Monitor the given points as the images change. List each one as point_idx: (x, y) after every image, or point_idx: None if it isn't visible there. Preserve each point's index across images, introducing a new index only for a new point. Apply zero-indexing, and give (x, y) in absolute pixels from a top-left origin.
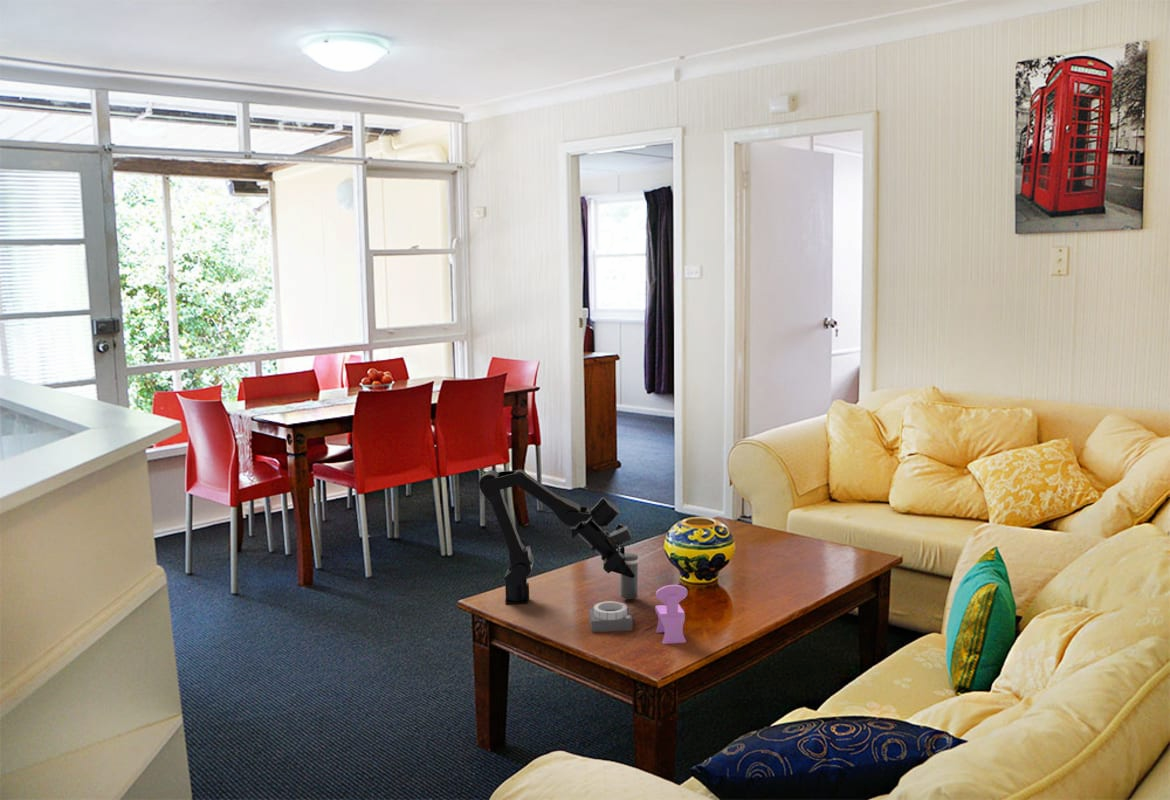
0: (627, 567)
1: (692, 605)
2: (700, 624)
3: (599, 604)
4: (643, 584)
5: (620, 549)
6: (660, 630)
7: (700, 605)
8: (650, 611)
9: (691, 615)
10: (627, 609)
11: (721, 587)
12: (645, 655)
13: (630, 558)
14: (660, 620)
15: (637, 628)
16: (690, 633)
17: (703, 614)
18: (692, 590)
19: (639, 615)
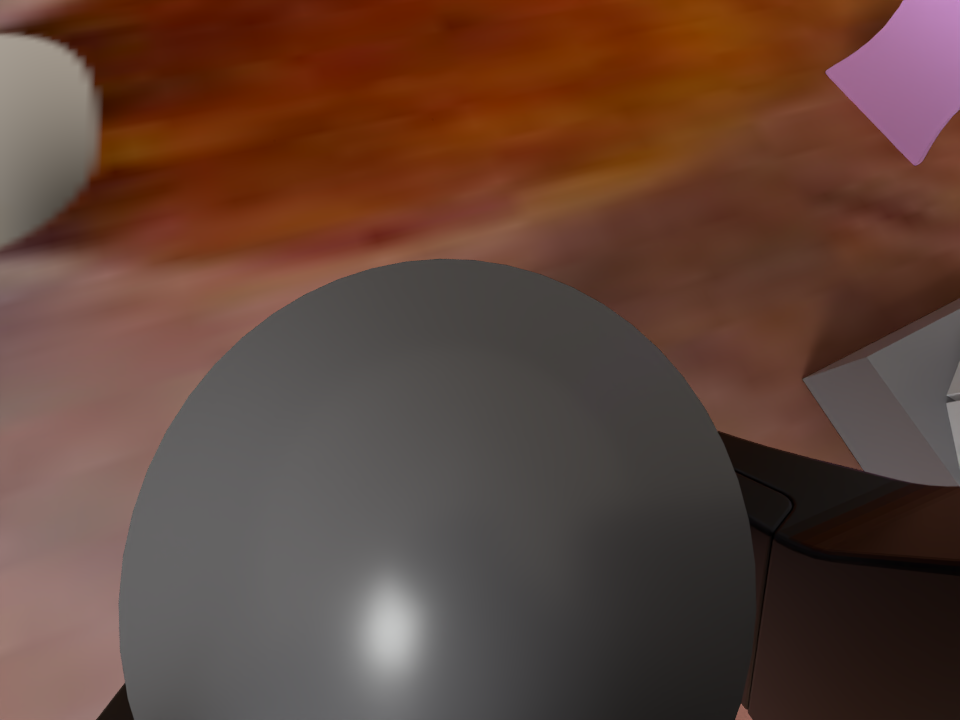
0: (741, 452)
1: (427, 88)
2: (692, 3)
3: None
4: (30, 527)
5: None
6: (908, 138)
7: (413, 52)
8: (627, 283)
9: (588, 62)
10: (918, 351)
11: (52, 9)
12: None
13: (674, 398)
14: (958, 93)
15: (930, 272)
16: (829, 19)
17: (548, 15)
18: (138, 143)
19: (728, 328)
